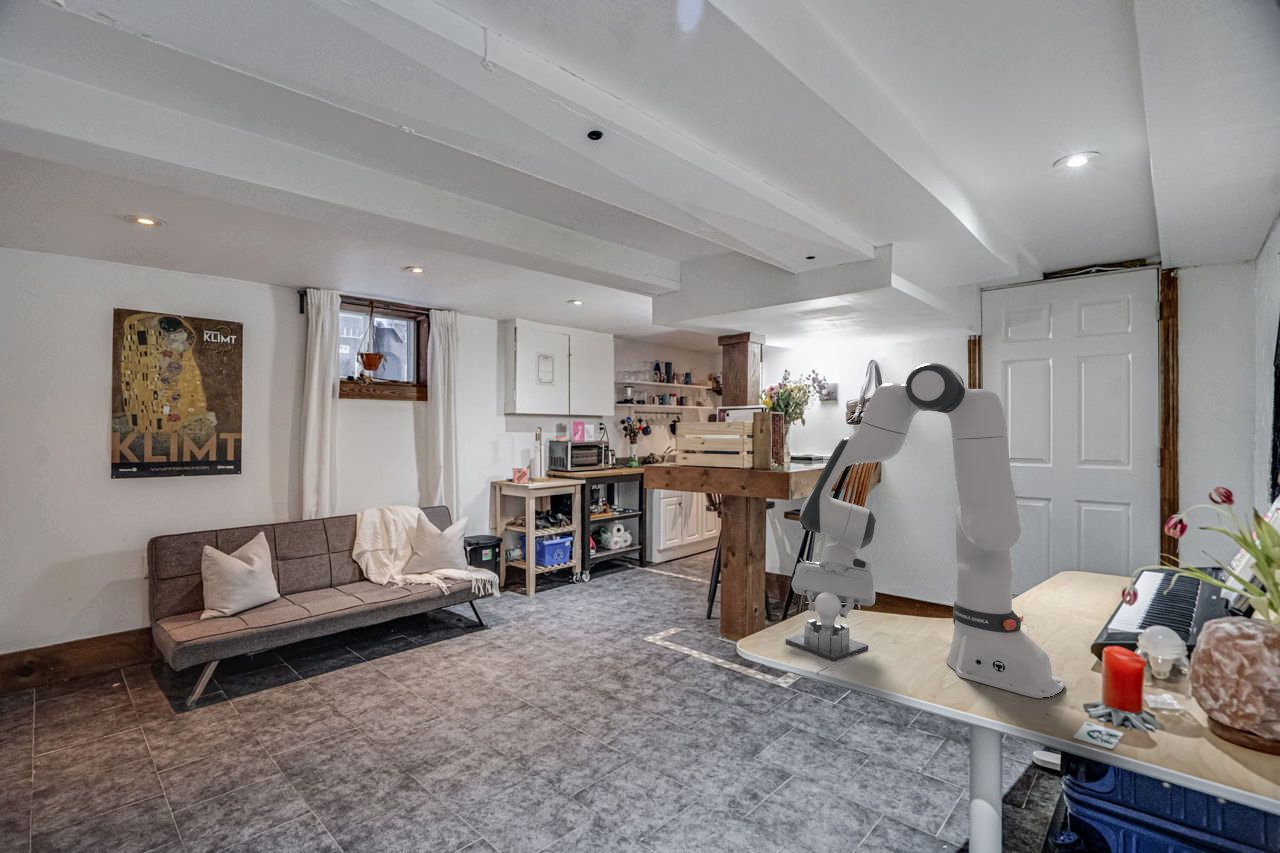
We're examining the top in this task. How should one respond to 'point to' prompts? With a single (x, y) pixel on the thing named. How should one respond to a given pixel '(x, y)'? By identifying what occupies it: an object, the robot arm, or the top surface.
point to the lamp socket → (827, 641)
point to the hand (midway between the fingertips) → (827, 613)
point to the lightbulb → (827, 609)
